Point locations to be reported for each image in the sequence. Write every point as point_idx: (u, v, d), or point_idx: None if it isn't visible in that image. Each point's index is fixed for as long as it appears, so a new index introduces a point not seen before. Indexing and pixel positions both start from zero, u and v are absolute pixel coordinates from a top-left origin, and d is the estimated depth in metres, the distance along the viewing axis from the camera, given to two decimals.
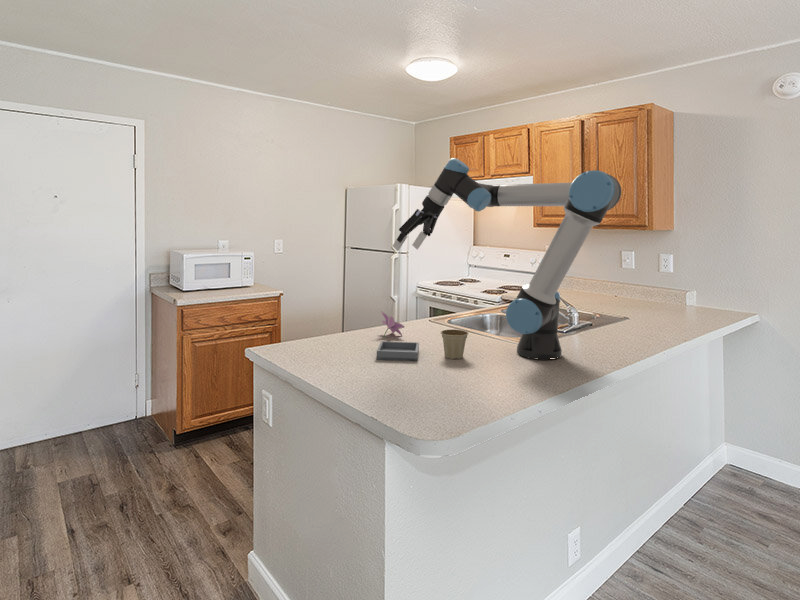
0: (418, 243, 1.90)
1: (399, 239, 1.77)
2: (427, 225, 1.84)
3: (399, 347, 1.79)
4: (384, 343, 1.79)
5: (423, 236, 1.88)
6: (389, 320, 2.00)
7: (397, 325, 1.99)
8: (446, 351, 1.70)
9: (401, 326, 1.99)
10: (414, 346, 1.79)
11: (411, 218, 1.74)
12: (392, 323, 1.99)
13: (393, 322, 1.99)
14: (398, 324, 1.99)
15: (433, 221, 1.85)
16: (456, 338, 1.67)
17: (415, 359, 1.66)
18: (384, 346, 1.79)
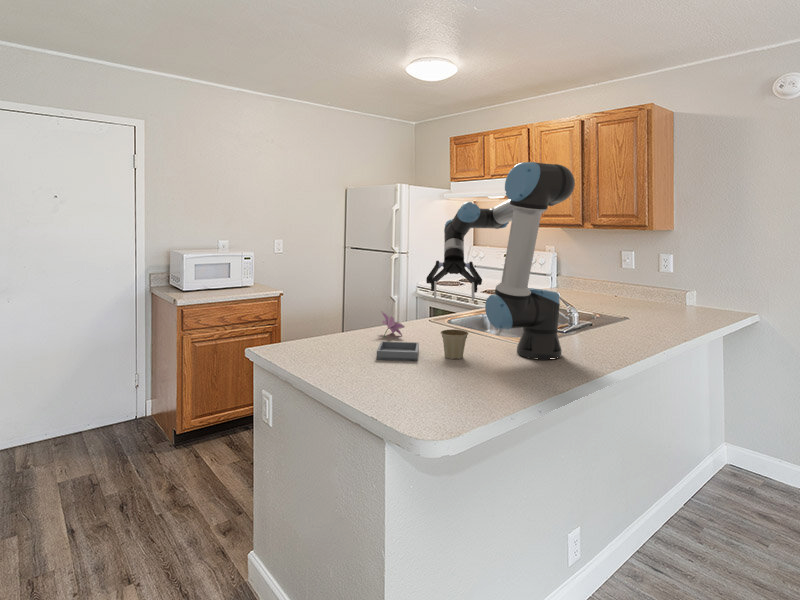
0: (472, 292, 1.80)
1: (431, 287, 1.83)
2: (464, 273, 1.85)
3: (399, 347, 1.79)
4: (384, 343, 1.79)
5: None
6: (389, 320, 2.00)
7: (397, 325, 2.00)
8: (446, 351, 1.70)
9: (401, 326, 1.99)
10: (414, 346, 1.79)
11: None
12: (392, 323, 2.00)
13: (393, 322, 1.99)
14: (398, 324, 1.99)
15: (471, 270, 1.86)
16: (456, 338, 1.67)
17: (415, 359, 1.66)
18: (384, 346, 1.79)
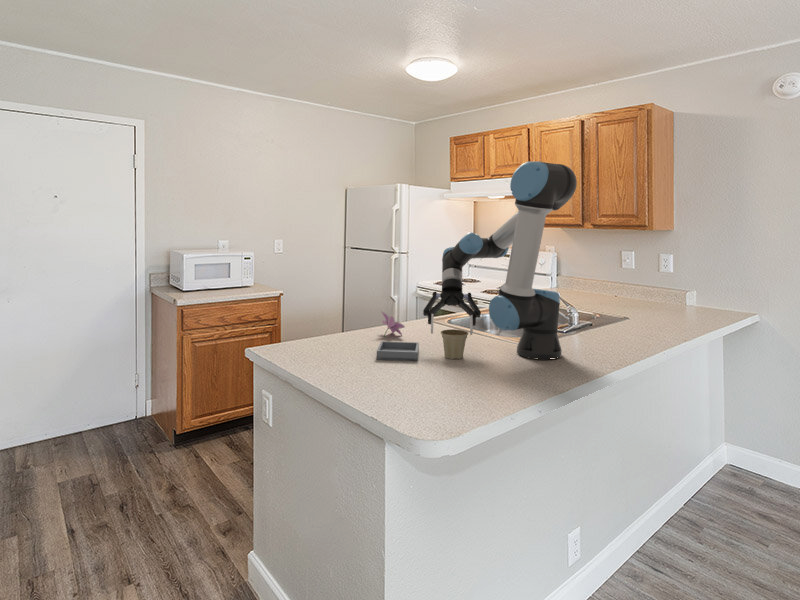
0: (470, 326, 1.74)
1: (428, 320, 1.77)
2: (462, 305, 1.79)
3: (399, 347, 1.79)
4: (384, 343, 1.79)
5: (470, 318, 1.76)
6: (389, 320, 2.00)
7: (398, 325, 2.00)
8: (446, 351, 1.70)
9: (401, 326, 1.99)
10: (414, 346, 1.79)
11: None
12: (392, 323, 2.00)
13: (393, 322, 1.99)
14: (398, 324, 1.99)
15: (470, 302, 1.80)
16: (456, 338, 1.67)
17: (415, 359, 1.66)
18: (384, 346, 1.79)
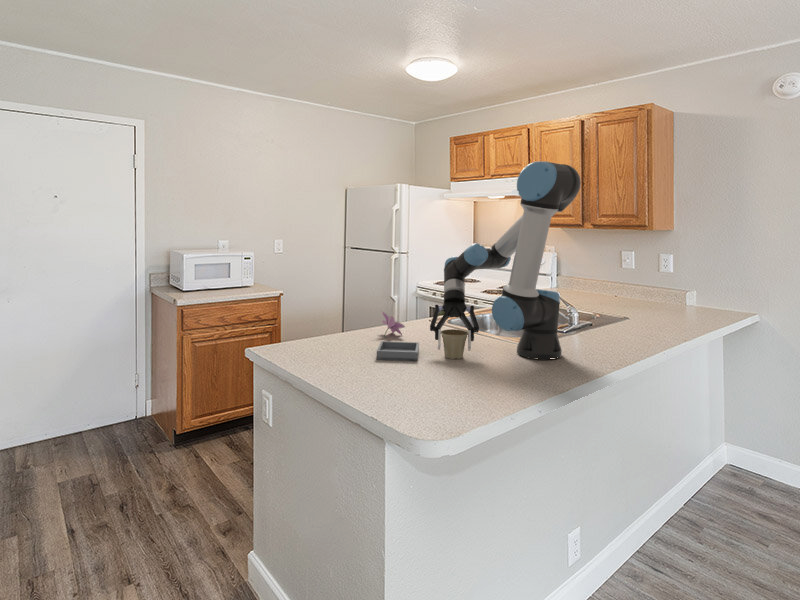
0: (468, 342, 1.69)
1: (435, 336, 1.71)
2: (463, 318, 1.74)
3: (399, 347, 1.79)
4: (384, 343, 1.79)
5: (468, 333, 1.71)
6: (389, 320, 2.00)
7: (398, 325, 2.00)
8: (446, 351, 1.70)
9: (401, 326, 2.00)
10: (414, 346, 1.79)
11: None
12: (392, 323, 2.00)
13: (393, 321, 1.99)
14: (398, 324, 1.99)
15: (471, 315, 1.75)
16: (456, 338, 1.67)
17: (415, 359, 1.66)
18: (384, 346, 1.79)
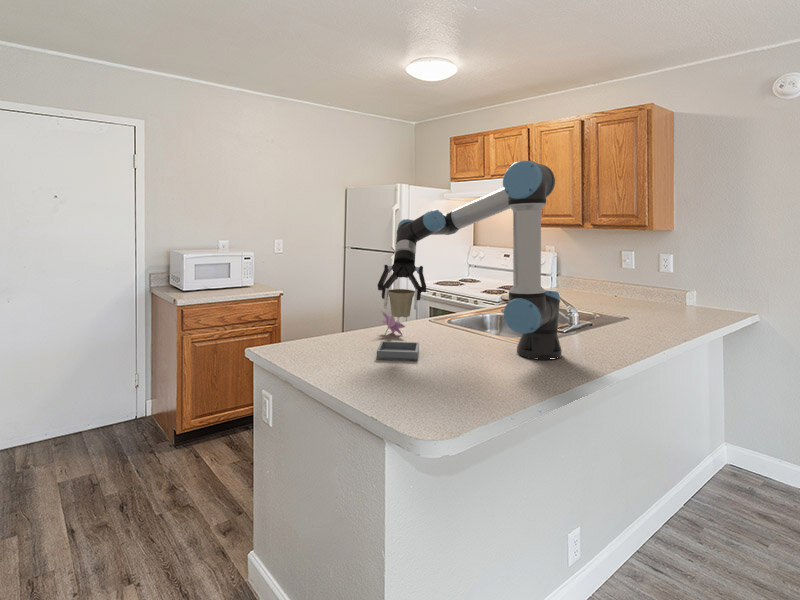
0: (414, 300, 1.69)
1: None
2: (411, 278, 1.74)
3: (399, 347, 1.79)
4: (384, 343, 1.79)
5: (415, 292, 1.70)
6: (389, 320, 2.00)
7: (398, 324, 2.00)
8: (392, 310, 1.70)
9: (401, 326, 2.00)
10: (414, 346, 1.79)
11: None
12: (392, 323, 2.00)
13: (393, 321, 2.00)
14: (398, 324, 2.00)
15: (419, 275, 1.75)
16: (401, 296, 1.66)
17: (415, 359, 1.66)
18: (384, 346, 1.79)
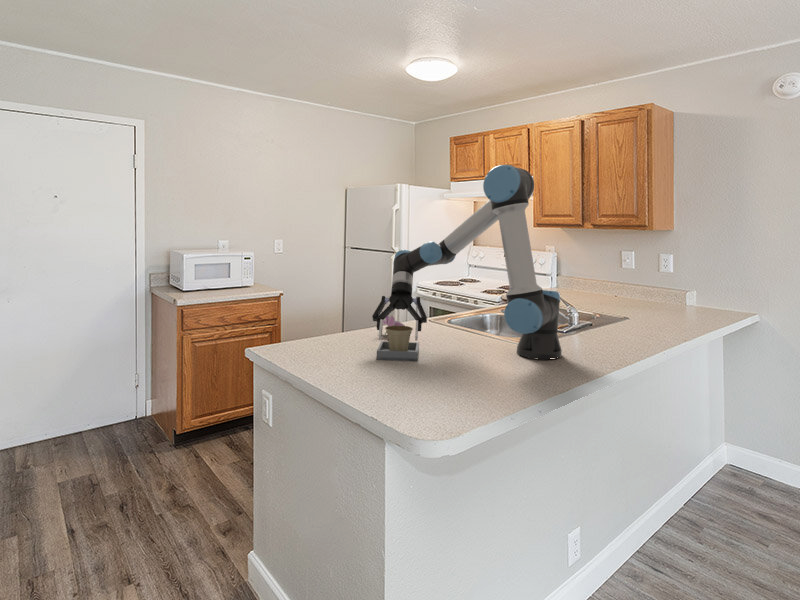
0: (415, 332, 1.70)
1: None
2: (410, 310, 1.75)
3: None
4: (384, 343, 1.79)
5: None
6: (389, 320, 2.01)
7: (398, 324, 2.00)
8: (390, 346, 1.71)
9: None
10: (414, 346, 1.79)
11: None
12: (392, 322, 2.00)
13: (393, 321, 2.00)
14: (398, 323, 2.00)
15: (418, 306, 1.76)
16: (399, 333, 1.68)
17: (415, 359, 1.66)
18: (384, 346, 1.79)
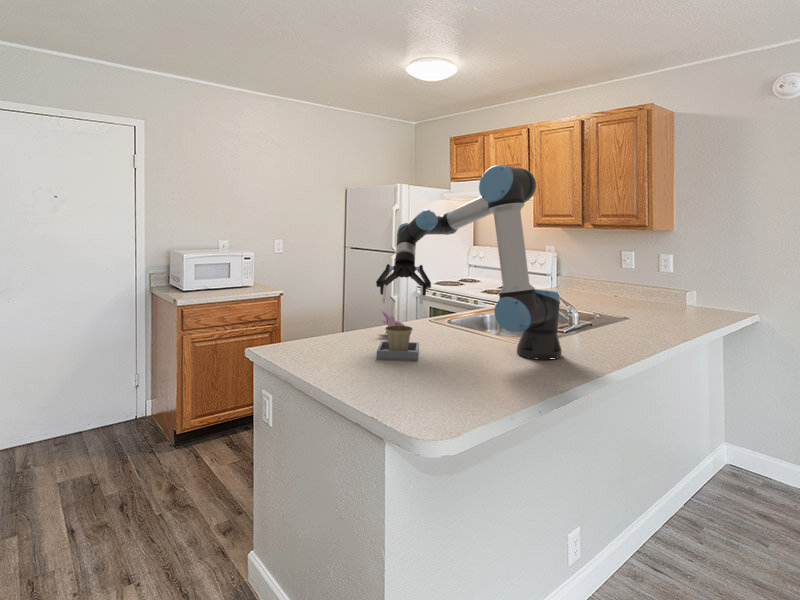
0: (420, 295, 1.82)
1: (380, 291, 1.84)
2: (414, 277, 1.87)
3: None
4: (384, 343, 1.79)
5: None
6: (390, 319, 2.01)
7: (398, 324, 2.01)
8: (390, 347, 1.71)
9: None
10: (414, 346, 1.79)
11: None
12: (393, 322, 2.01)
13: (394, 321, 2.00)
14: (399, 323, 2.00)
15: (421, 273, 1.88)
16: (399, 334, 1.68)
17: (415, 359, 1.66)
18: (384, 346, 1.79)
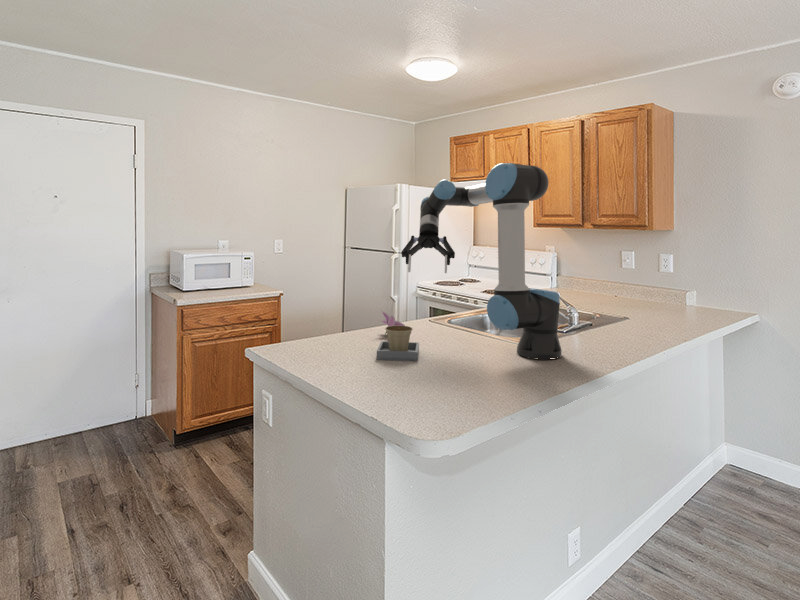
0: None
1: None
2: (438, 247, 1.92)
3: None
4: (384, 343, 1.79)
5: (445, 258, 1.89)
6: (390, 319, 2.01)
7: (398, 324, 2.01)
8: (390, 347, 1.71)
9: None
10: (414, 346, 1.79)
11: None
12: (393, 322, 2.01)
13: (394, 321, 2.00)
14: (399, 323, 2.00)
15: (445, 244, 1.93)
16: (399, 334, 1.68)
17: (415, 359, 1.66)
18: (384, 346, 1.79)
